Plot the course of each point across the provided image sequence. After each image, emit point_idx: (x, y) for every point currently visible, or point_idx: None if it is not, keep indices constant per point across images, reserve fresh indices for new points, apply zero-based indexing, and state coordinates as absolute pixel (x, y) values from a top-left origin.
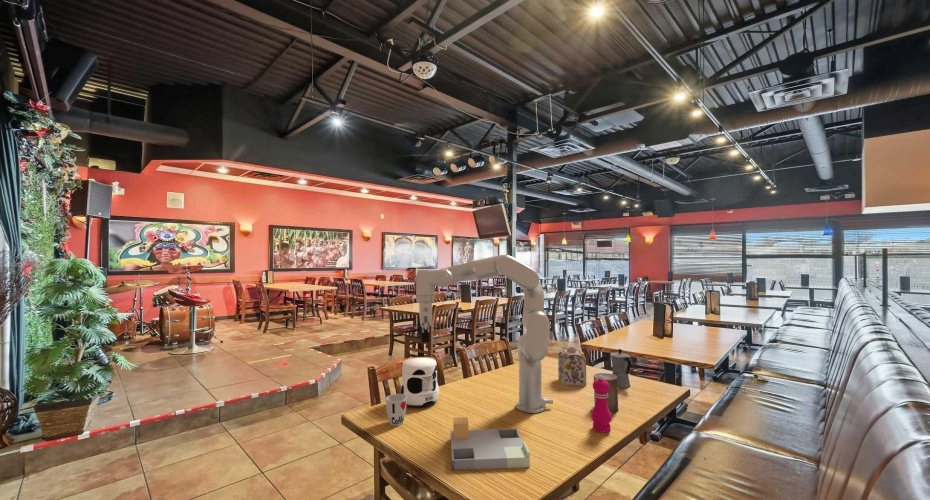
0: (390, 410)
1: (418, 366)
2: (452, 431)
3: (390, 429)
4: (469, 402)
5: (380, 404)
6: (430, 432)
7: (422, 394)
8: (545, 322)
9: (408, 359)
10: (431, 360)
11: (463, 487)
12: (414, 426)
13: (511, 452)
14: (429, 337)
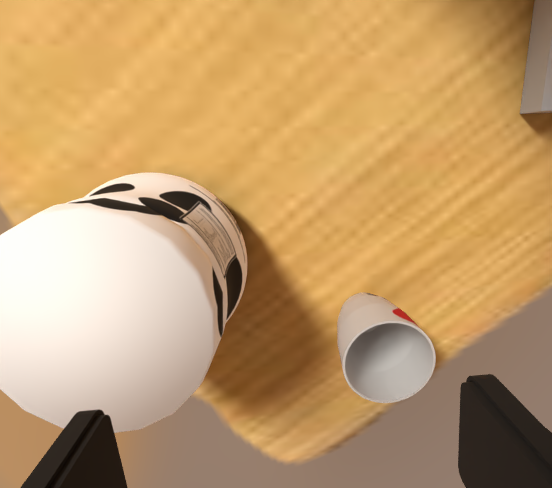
0: (411, 357)
1: (202, 329)
2: (548, 103)
3: None
4: (165, 19)
5: None
6: (452, 190)
7: (240, 250)
8: None
9: (26, 410)
10: (35, 250)
11: None
12: (396, 250)
13: None
14: (538, 422)
